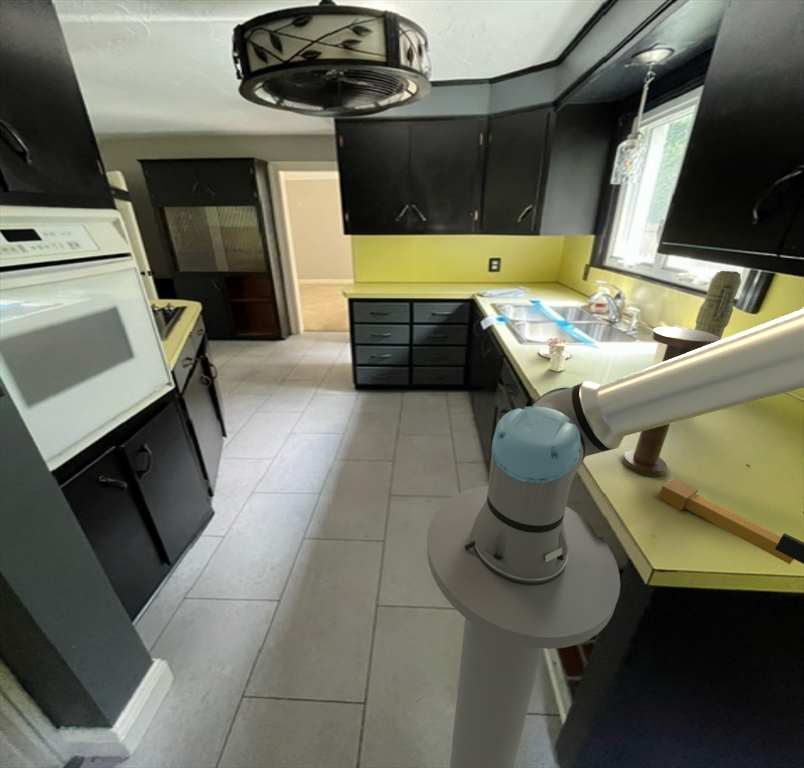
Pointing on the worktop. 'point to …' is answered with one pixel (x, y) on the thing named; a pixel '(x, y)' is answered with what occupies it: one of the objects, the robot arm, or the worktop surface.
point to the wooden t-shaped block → (720, 516)
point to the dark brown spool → (653, 439)
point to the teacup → (553, 347)
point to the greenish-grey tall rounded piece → (718, 303)
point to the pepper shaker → (557, 358)
